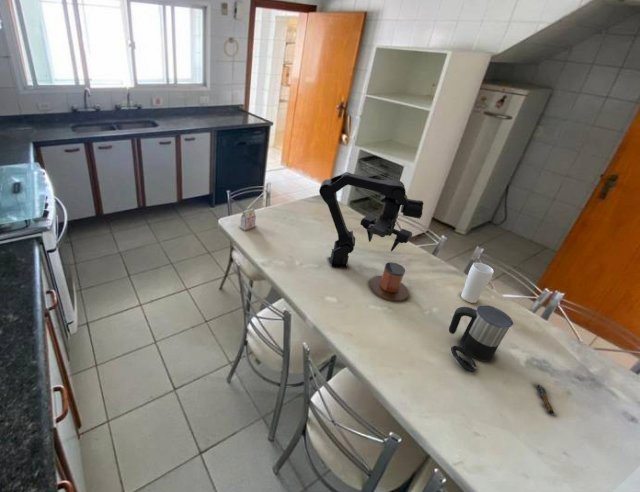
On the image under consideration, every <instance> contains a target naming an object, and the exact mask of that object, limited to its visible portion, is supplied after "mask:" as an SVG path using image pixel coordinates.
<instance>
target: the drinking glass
mask: <svg viewBox="0 0 640 492" xmlns="http://www.w3.org/2000/svg"><path fill="white" fill-rule="evenodd" d="M494 272H495V270H494V269H493V267H491V266H489V265H488V264H485V263H482V262H473V263H472V265H471V266H470V269H469V271H468V274H467V276H466V280H465V283H464V285H463V289H462V291H461V294H460V295H461V298H462V300H464V301H465V302H468V303H470V304H475V303H477V302H478V301H479V299H480V297H481V295H482V294H483V292H484V291H485V289H486V288H487V286H488V284H489V283H490V281H491V279H492V277H493V275H494Z"/></svg>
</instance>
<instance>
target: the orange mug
mask: <svg viewBox="0 0 640 492" xmlns="http://www.w3.org/2000/svg"><path fill="white" fill-rule="evenodd" d="M382 272H383V273H382V275H381V276H382V278H381V281H380V286H381V288H382V289H384V290H385V291H387V292H391V293H395V292H398V290H399V287H400V284H401V283H402V281H403V279H404V275H405V274H406V268H405V267H404V266H403V265H401V264H399V263H397V262H393V261H391V262H390V261H389V262H386V263H384V269H383V271H382Z"/></svg>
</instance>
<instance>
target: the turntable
mask: <svg viewBox="0 0 640 492" xmlns="http://www.w3.org/2000/svg"><path fill="white" fill-rule="evenodd" d="M381 278H382V275H375V276H374V277H372V278H371V279H370V282H369V287H370V289H371V291H372V292H373V294H375V295H376V296H378V297H379V298H381V299H383V300H385V301H389V302H394V303H397V302H398V303H399V302H403V301H405V300H406V299H407V298H408V297H409V290H408V287H406V286H405V285H404V284H403V283H402V282H401V284H400V287H399V290H398V292H395V293H391V292H387V291H385V290H384V289H382V288H381V286H380V281H381Z"/></svg>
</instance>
